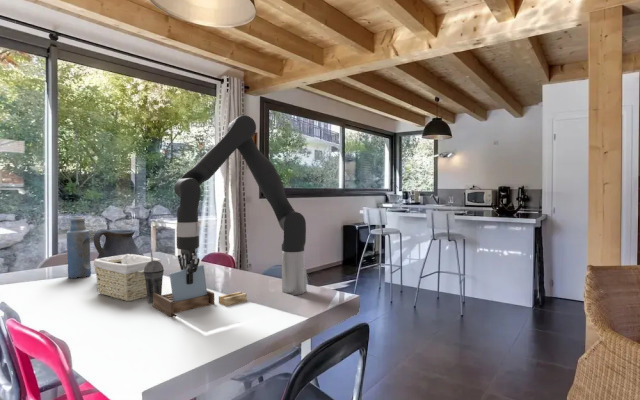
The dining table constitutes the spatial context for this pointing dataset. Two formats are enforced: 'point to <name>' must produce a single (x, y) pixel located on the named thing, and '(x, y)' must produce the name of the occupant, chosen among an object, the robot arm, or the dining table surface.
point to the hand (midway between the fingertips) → (188, 283)
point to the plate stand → (232, 298)
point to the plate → (188, 291)
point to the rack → (180, 303)
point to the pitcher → (116, 243)
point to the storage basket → (122, 276)
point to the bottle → (78, 249)
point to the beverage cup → (153, 278)
